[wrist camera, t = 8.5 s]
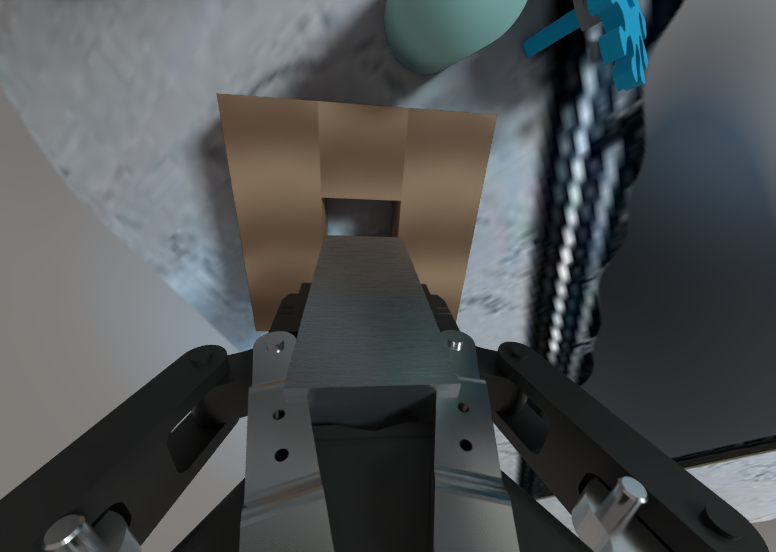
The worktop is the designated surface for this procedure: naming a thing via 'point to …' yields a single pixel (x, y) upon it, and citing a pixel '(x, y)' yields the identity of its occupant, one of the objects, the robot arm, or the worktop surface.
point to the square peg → (368, 339)
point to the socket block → (351, 185)
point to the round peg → (445, 29)
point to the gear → (604, 36)
